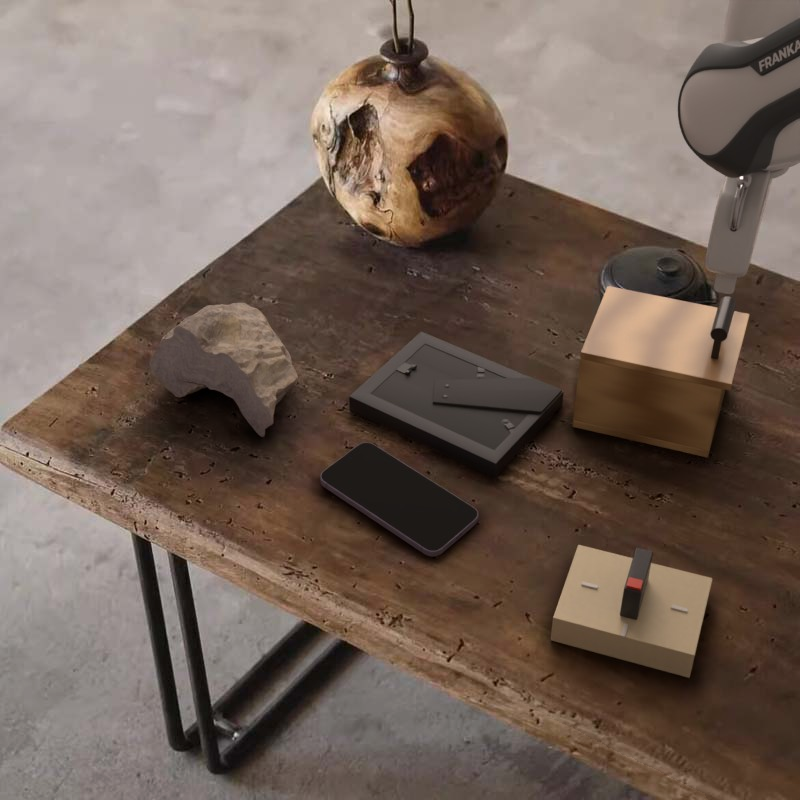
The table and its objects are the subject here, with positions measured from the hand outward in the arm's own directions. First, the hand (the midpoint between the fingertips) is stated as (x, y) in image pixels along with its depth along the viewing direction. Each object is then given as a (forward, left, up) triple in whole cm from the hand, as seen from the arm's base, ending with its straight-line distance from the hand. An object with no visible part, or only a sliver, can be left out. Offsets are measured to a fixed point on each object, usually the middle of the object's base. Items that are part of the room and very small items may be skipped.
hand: (732, 260), depth 122 cm
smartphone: (+25, +21, -20) cm, 39 cm away
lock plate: (+1, +28, -20) cm, 35 cm away
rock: (+46, +10, -20) cm, 51 cm away
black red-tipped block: (+1, +28, -17) cm, 33 cm away
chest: (+5, -1, -20) cm, 21 cm away
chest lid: (+5, -1, -11) cm, 12 cm away
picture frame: (+24, +6, -20) cm, 32 cm away
